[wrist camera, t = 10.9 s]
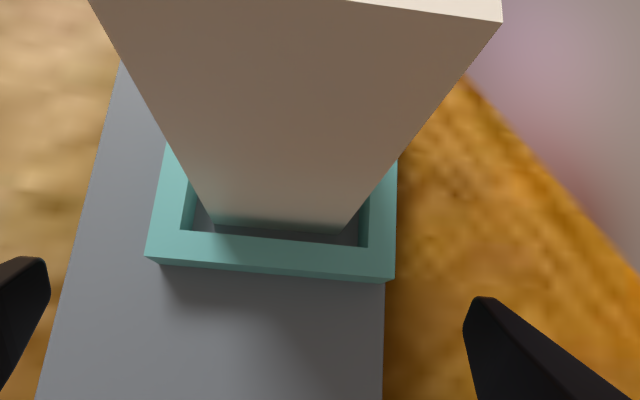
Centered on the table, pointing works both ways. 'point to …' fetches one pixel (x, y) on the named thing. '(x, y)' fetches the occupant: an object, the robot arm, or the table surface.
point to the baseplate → (211, 288)
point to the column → (293, 94)
